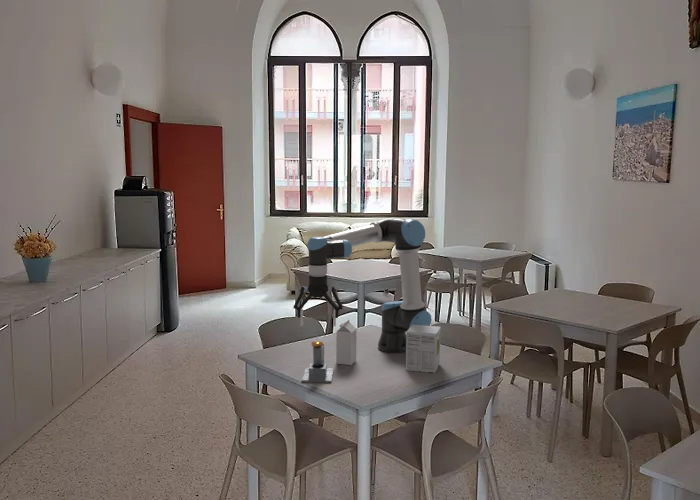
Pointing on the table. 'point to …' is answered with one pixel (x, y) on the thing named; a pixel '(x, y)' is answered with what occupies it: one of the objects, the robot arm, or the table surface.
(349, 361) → the milk carton
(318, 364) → the grey cylinder orange top
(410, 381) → the table surface
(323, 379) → the post on square base
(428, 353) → the supplement box
